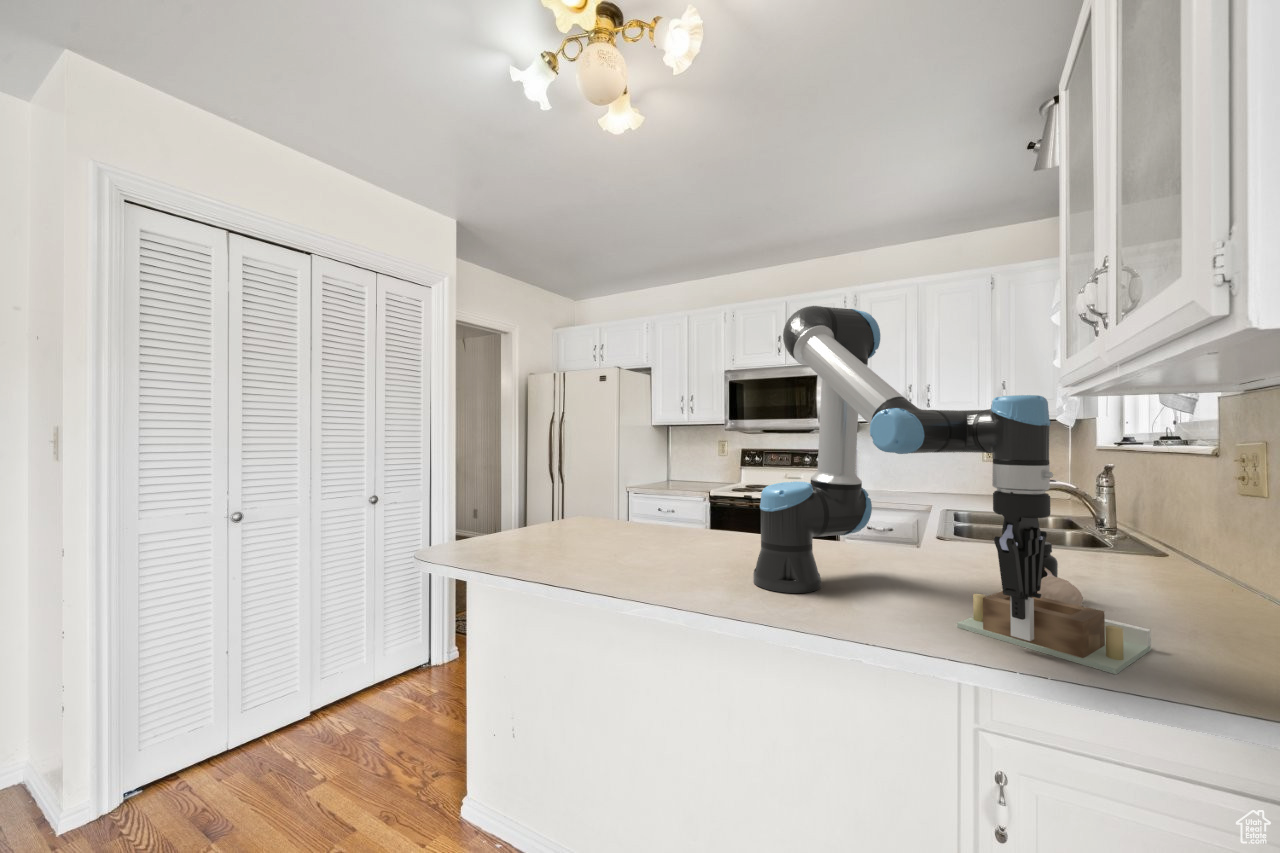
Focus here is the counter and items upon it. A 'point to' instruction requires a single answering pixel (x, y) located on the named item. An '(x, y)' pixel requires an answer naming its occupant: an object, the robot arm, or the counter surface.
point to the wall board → (1113, 657)
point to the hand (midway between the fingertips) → (1022, 637)
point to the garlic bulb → (1059, 590)
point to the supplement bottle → (1049, 561)
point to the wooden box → (1051, 624)
